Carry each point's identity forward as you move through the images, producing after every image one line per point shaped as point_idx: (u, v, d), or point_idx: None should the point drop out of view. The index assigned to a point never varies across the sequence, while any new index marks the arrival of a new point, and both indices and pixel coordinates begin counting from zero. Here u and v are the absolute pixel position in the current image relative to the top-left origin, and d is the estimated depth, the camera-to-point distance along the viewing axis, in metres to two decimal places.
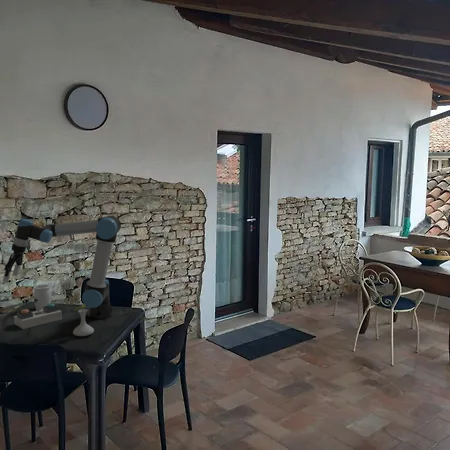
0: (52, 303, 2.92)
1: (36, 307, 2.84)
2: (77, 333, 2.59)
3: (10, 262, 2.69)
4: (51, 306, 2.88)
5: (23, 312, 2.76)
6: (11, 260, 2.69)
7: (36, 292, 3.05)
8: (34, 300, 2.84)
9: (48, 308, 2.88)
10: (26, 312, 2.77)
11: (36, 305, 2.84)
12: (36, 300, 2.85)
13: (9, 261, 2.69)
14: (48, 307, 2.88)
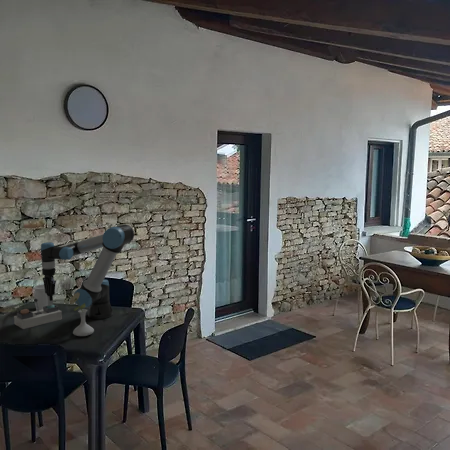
0: None
1: (36, 307, 2.84)
2: (77, 333, 2.59)
3: (53, 287, 2.85)
4: (51, 307, 2.88)
5: (23, 312, 2.76)
6: (53, 285, 2.85)
7: (36, 292, 3.05)
8: (34, 300, 2.84)
9: None
10: (26, 312, 2.77)
11: (36, 305, 2.84)
12: (36, 300, 2.85)
13: (52, 287, 2.85)
14: (48, 308, 2.88)
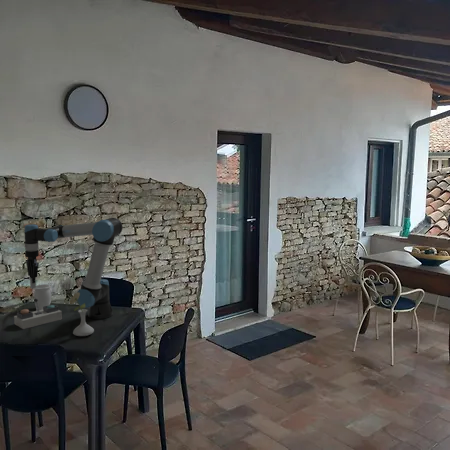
0: (52, 305, 2.92)
1: (36, 307, 2.84)
2: (77, 333, 2.59)
3: (36, 269, 2.84)
4: None
5: (23, 312, 2.76)
6: (36, 268, 2.84)
7: (36, 292, 3.05)
8: (34, 300, 2.84)
9: None
10: (26, 312, 2.77)
11: (36, 305, 2.84)
12: (36, 300, 2.85)
13: (35, 269, 2.83)
14: None
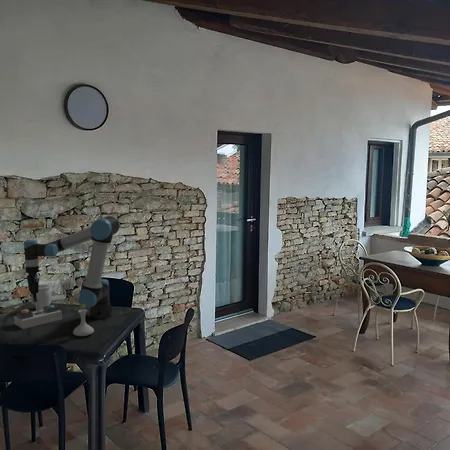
0: (52, 305, 2.92)
1: (36, 307, 2.84)
2: (77, 333, 2.59)
3: (36, 285, 2.82)
4: None
5: (23, 312, 2.76)
6: (37, 283, 2.82)
7: None
8: (34, 300, 2.84)
9: None
10: (26, 312, 2.77)
11: (36, 305, 2.84)
12: (36, 300, 2.85)
13: (36, 285, 2.82)
14: None
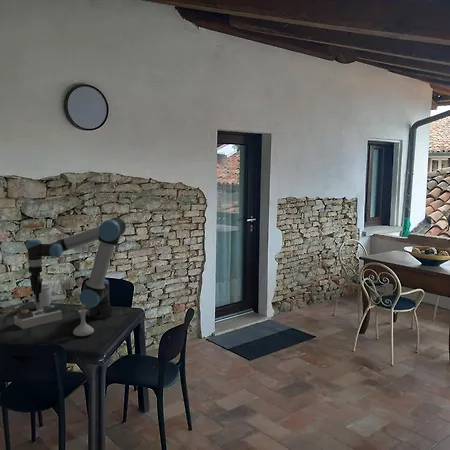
0: (52, 305, 2.92)
1: (37, 307, 2.83)
2: (77, 333, 2.59)
3: (39, 285, 2.80)
4: None
5: (23, 312, 2.76)
6: (40, 284, 2.80)
7: None
8: (36, 301, 2.82)
9: None
10: (26, 312, 2.77)
11: (37, 306, 2.83)
12: (38, 301, 2.82)
13: (39, 285, 2.79)
14: None
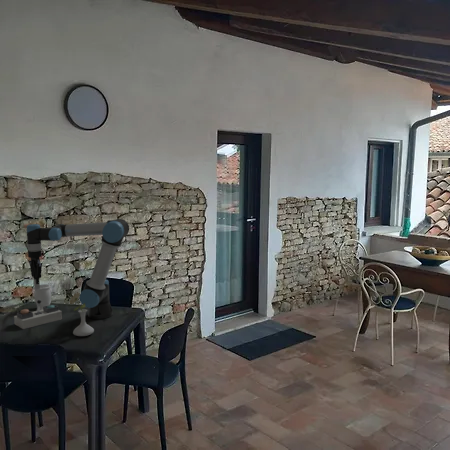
0: (52, 305, 2.92)
1: (37, 308, 2.83)
2: (77, 333, 2.59)
3: (39, 270, 2.78)
4: None
5: (23, 312, 2.76)
6: (40, 268, 2.78)
7: (36, 292, 3.05)
8: (37, 302, 2.81)
9: None
10: (26, 312, 2.77)
11: (38, 306, 2.83)
12: (39, 302, 2.82)
13: (38, 270, 2.78)
14: None
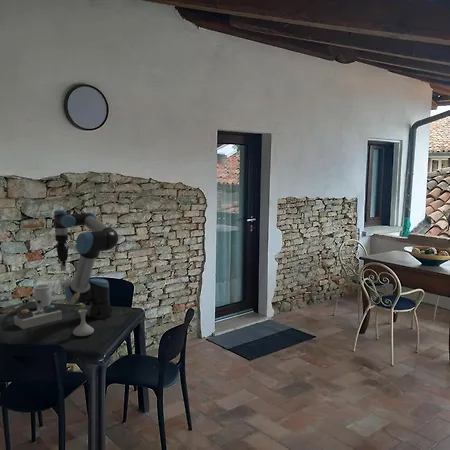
0: (52, 305, 2.92)
1: (37, 308, 2.83)
2: (77, 333, 2.59)
3: (66, 252, 2.99)
4: None
5: (23, 312, 2.76)
6: (66, 251, 2.99)
7: (36, 292, 3.05)
8: (37, 302, 2.81)
9: None
10: (26, 312, 2.77)
11: (38, 306, 2.83)
12: (39, 302, 2.82)
13: (65, 252, 2.99)
14: None
